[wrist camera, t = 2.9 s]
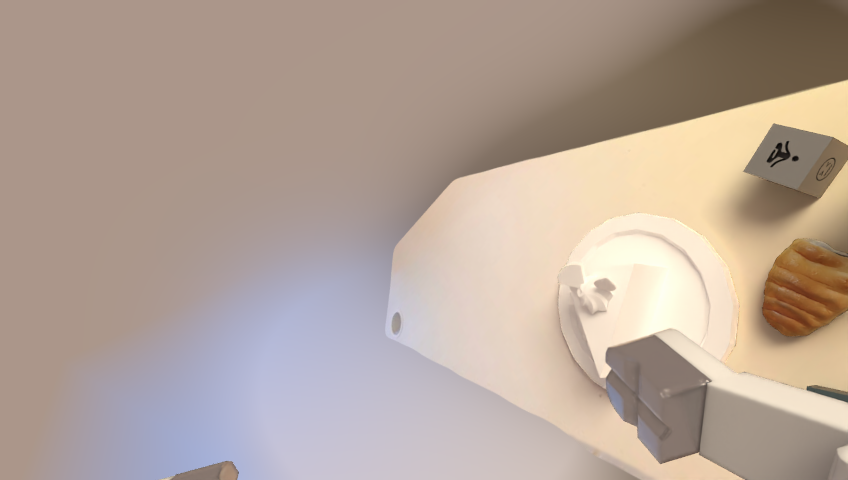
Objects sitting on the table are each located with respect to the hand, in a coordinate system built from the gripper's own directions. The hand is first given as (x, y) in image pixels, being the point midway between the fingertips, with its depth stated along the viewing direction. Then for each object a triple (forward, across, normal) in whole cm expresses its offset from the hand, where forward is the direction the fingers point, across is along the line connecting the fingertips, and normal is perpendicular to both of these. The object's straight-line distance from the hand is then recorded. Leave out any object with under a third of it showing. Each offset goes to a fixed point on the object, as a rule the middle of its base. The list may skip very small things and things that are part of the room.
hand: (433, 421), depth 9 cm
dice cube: (+27, +44, -10) cm, 52 cm away
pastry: (+21, +40, -20) cm, 49 cm away
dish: (+36, +32, -28) cm, 56 cm away
